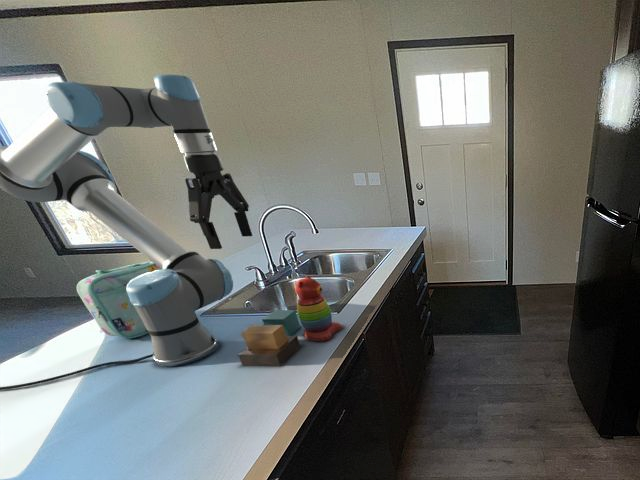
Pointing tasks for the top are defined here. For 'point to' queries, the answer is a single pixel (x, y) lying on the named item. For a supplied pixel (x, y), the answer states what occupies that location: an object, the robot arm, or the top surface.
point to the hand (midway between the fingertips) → (232, 242)
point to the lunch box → (114, 299)
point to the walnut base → (269, 354)
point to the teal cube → (283, 320)
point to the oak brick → (265, 337)
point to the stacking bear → (314, 311)
